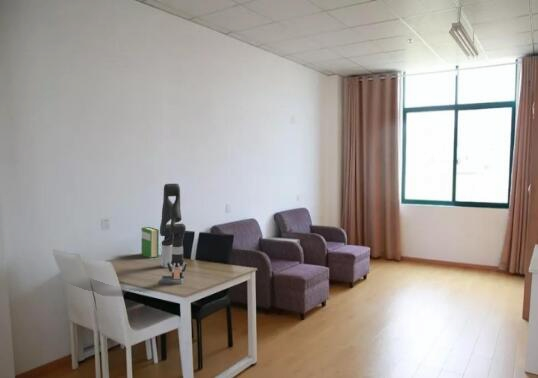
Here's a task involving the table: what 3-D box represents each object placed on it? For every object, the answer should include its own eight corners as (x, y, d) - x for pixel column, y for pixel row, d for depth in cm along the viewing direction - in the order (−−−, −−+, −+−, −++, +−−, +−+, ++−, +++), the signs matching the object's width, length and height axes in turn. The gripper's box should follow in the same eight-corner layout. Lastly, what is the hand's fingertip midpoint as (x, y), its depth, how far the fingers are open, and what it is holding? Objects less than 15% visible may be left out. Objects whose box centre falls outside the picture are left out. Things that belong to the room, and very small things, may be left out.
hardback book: (158, 257, 340) (158, 229, 338) (150, 258, 335) (150, 230, 334) (149, 253, 353) (149, 226, 352) (141, 254, 348) (141, 227, 347)
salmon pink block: (174, 277, 271) (175, 267, 271) (180, 277, 271) (180, 267, 271) (173, 279, 267) (173, 269, 267) (179, 279, 267) (179, 269, 267)
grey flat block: (162, 279, 273) (162, 275, 273) (184, 280, 273) (184, 276, 273) (159, 283, 265) (159, 279, 265) (181, 283, 265) (181, 279, 265)
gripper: (188, 251, 272) (188, 276, 273) (168, 251, 272) (168, 275, 273) (186, 254, 264) (186, 279, 265) (165, 253, 264) (165, 278, 265)
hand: (177, 277), depth 269 cm, fingers closed on salmon pink block, 4 cm apart
